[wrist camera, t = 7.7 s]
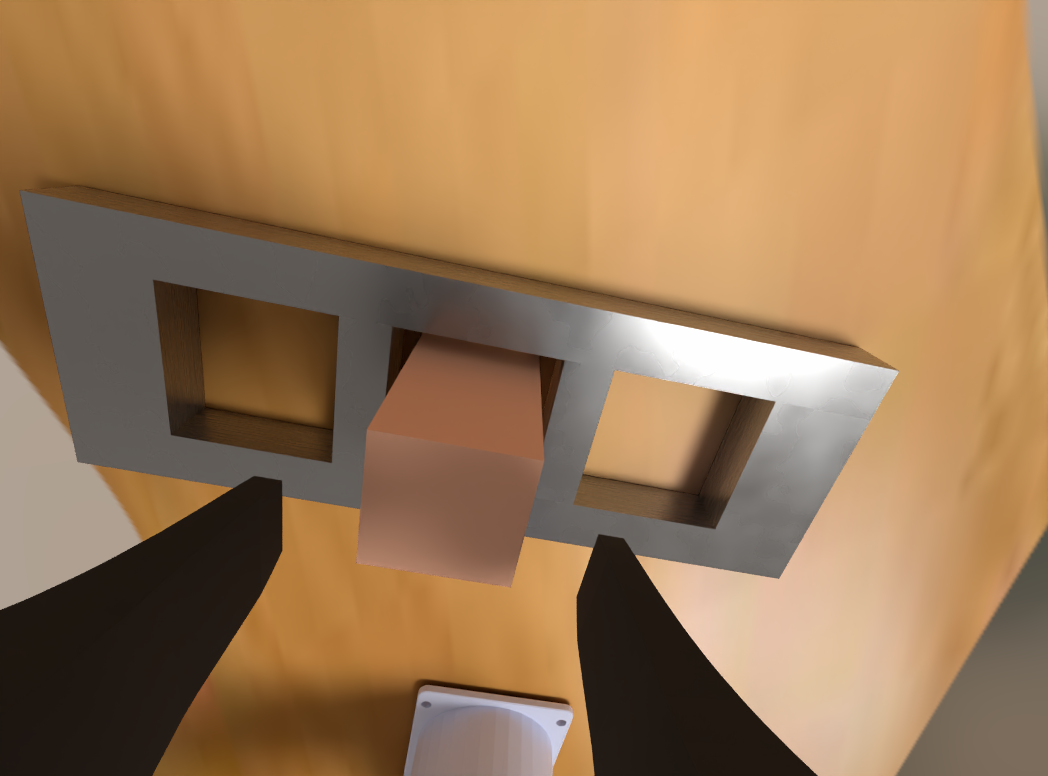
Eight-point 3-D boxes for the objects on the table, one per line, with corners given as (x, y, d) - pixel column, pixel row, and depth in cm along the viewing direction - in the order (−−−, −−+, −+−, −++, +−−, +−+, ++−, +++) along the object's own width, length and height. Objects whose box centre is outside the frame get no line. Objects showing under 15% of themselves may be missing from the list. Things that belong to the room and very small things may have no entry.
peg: (516, 444, 19) (510, 587, 13) (413, 425, 19) (356, 563, 13) (538, 349, 18) (544, 460, 11) (425, 327, 17) (366, 429, 11)
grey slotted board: (757, 542, 21) (779, 578, 19) (120, 432, 19) (77, 461, 17) (860, 348, 17) (899, 370, 16) (79, 185, 15) (19, 190, 14)
